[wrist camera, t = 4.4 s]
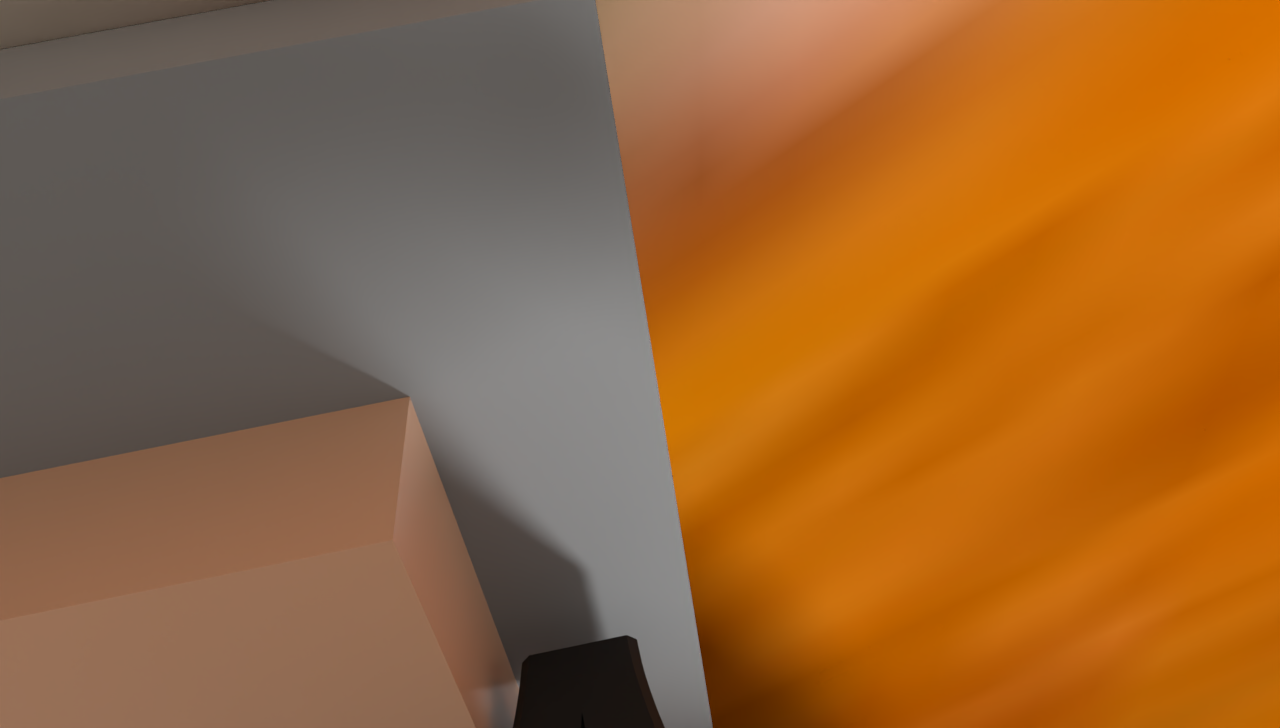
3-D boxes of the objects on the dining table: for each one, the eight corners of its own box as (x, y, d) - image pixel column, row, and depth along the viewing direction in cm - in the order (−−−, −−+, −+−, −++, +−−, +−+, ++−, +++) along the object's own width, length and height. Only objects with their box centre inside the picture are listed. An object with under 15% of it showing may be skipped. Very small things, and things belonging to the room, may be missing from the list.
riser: (716, 791, 18) (739, 894, 16) (128, 920, 17) (91, 1040, 16) (573, -55, 9) (593, -9, 7) (-695, 176, 8) (-991, 281, 7)
